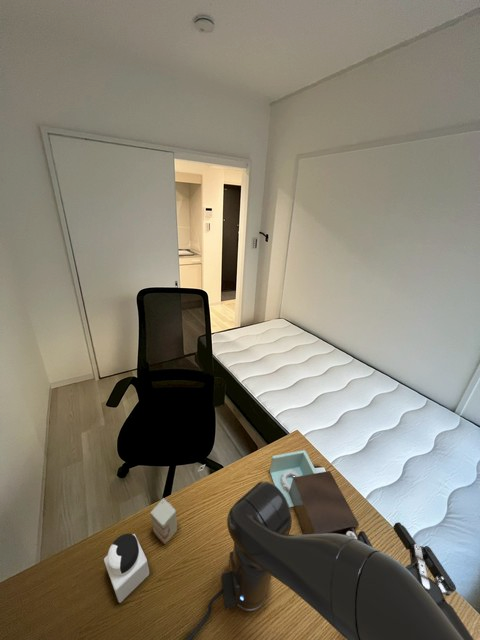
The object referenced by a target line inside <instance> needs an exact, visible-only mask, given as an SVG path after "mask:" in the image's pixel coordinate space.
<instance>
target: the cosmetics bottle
mask: <svg viewBox="0 0 480 640" xmlns="http://www.w3.org/2000/svg"><path fill="white" fill-rule="evenodd" d="M150 516H151V517H150V518H151V524H152V532H153V533H154V535H155V536H156V537H157V539H158V540H160V542H161V543H162V544H163V545H164V546H165V545H167V544H168V543H169V541H170V540H171V539H172V538H173V536H174V535H175V534H176V532H177V531H178V523H177V521H178V520H177V509H176V508H175V507H174V506H173V505H172V504H171V502H169V501H167V500H166V499H165V498H164V497H163V498H162V499H161V500H160V501H159V502H158V503H157V504H156V505H155V507H153V508H152V510H151V511H150Z"/></svg>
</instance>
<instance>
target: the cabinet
mask: <svg viewBox="0 0 480 640" xmlns="http://www.w3.org/2000/svg"><path fill="white" fill-rule="evenodd" d="M289 494H290V497H291V500H292V503H293V505H294V506H293V509H294V512H295V514H296V517H297V519H298V522H299V524H300V527H301V530H302V534H314V533H332V532H336V531H341V530H345V529H349V528H353V527H354V529H355V531H356V532H357V530H358V528H359V526H360V523H359V522H358V520H357V518H356V515H355V514H354V512H353V511H352V508H351V507H350V505H349V503H348V502H347V499H346V498H345V496H344V494H343V492H342V491H341V488H340V487H339V485H338V483H337V481H336V479H335V477H334V476H333V474H332V471H330V470H328V471H322V472H317V473H315V474H310V475H304V476H299V477H293V480H292V484H291V488H290V491H289Z"/></svg>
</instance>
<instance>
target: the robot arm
mask: <svg viewBox="0 0 480 640" xmlns="http://www.w3.org/2000/svg"><path fill="white" fill-rule="evenodd" d="M290 508H291V507H289V505H288V502H287V500H286V498H285V496H284V495H283V493H282V492H281V491H280V490H279V489H278V488H277V487H276V486H275V485H274V483H272V482H270V481H266V480H264V481H263V480H261V481H259V482H257V483H256V484H255V485H253V487H251V489H249V490H248V491H247V492H246V493H245V494H244V495H242V497H240V499H238V500H237V501H236V502H235V503H234V504H233V505H232V507H231V508H230V509H229V511H228V513H227V516H226V527H227V530H228V533H229V535H230V537H231V539H232V541H233V548H232V551H230V552H229V557H228V565H227V566H228V567H227V571H225V572H222V573H221V576H220V577H221V578H220V579H221V589H220V590H219V591H218V592H217V593H216V594H214V595H213V597H212V598H211V599H210V600H209V602H208V606H207V608H208V609H207V611H206V613H205V615H204V616H203V618H202V620H201V621H200V622H199V624H197V626H196V627H195V628H194V630H192V632H191V633H190V634H189V635H188V636H186V638H185V639H184V640H193V639H194V637H195V636H197V634H198V633H199V632H200V630H201V629H202V628H203V627H204V625H205V624H206V622H207V621H208V618H209V617H210V615H211V613H212V608H213V607H212V606H213V605H214V603H215V602H216V601H217V600H218V599H219V598H220V597H221V596H222V599H223V608H224V610H228V609H232V608H235V607H236V606H237V607H238V608H239V609H240V610H242V611H243V612H249V613H250V612H252V613H253V612H255V611H257V610H259V609H260V608H261V607H262V606H263V605H264V603H265V601H266V599H267V597H268V592H269V587H270V583H271V580H272V577H273V578H275V579H276V580H277V581H279V582H280V583H281V584H283V585H284V586H286V588H288V589H290V590H291V591H292V592H293V593H295V594H296V595H297V596H298V597H300V598H301V599H302V600H303V601H304V602H305V603H306V604H308V605H309V606H310V607H311V608H312V609H313V610H314V611H315V612H317V614H319V615H320V616H321V617H322V618H323V619H324V620H325V621H326V622H327V623H329V625H331V626H332V627H333V629H335V630H336V631H337V632H338V634H340V635H341V636H342V637H343V638H345V640H475V639H474V638H473V636H472V635H471V633H470V632H469V630H468V629H467V627H466V625H465V624H464V623H463V621H462V620H461V618H460V617H459V615H458V613H457V612H456V611H455V609H454V607H453V606H452V605H451V604H449V603H448V602H447V600H446V599H445V596H446V597H449V596H451V595H452V594H453V593H454V592H455V591H456V590H457V586H456V585H455V583H454V581H453V580H452V578H451V577H450V575H449V574H448V572H447V571H446V569H445V568H444V566H443V565H442V563H441V562H440V560H439V559H438V558H437V556H436V554H435V553H434V552H433V549H432V548H431V547H430V546H429V545H425V546H421V545H419V544H418V543H416V541H415V539H414V538H413V536H412V535H411V534H410V532H409V531H408V529H407V528H406V527H405V525H403V524H402V523H401V522H398V521H397V522H395V523H394V525H393V526H392V527H393V530H394V532H395V533H396V536H397V537H398V539H399V540H400V542H401V543H402V545H403V546H404V548H405V550H406V551H409V559H410V564H407V565H406V566H405V565H404V564H403V563H401V562H399V561H398V560H397V559H395V558H394V557H392V556H390V555H389V554H386V553H385V552H383V551H381V550H379V549H377V548H375V547H373V545H372V543H371V541H370V539H369V538H368V535H367V534H366V532H365V531H364V530H362V531H359V533H357V535H358V540H357V539H355V538H353V537H350V536H348V535H344V534H337V533H314V534H304V533H302V534H290V532H291V529H292V524H293V523H292V522H293V521H292V520H293V519H292V512H291V509H290ZM427 569H428V571H429V572H430V574H431V576H432V577H433V578H434V580H433V579H431V578H430V576H428V571H427ZM444 595H445V596H444Z"/></svg>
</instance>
